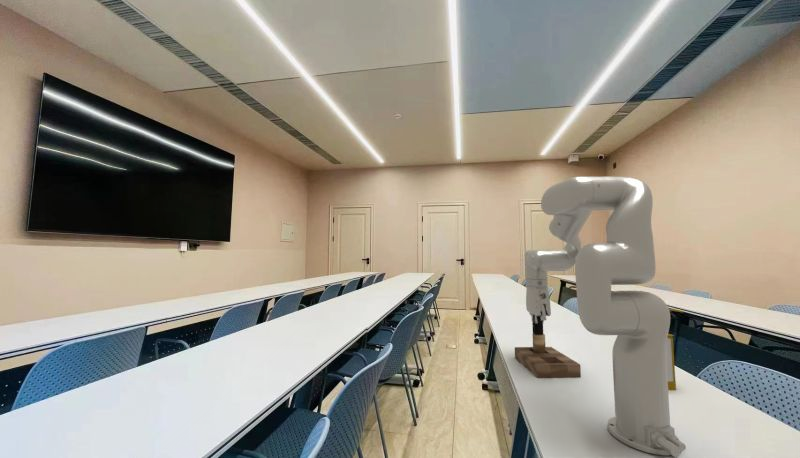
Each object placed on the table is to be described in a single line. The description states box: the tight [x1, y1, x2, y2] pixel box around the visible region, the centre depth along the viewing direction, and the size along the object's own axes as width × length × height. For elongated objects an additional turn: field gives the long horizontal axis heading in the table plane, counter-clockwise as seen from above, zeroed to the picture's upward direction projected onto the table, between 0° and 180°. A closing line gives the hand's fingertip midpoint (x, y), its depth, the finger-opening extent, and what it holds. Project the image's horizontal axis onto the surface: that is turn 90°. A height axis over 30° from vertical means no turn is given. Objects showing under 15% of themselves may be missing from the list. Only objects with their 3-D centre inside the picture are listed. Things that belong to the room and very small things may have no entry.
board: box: [514, 346, 582, 379], centre depth 107 cm, size 18×14×4 cm
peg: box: [532, 332, 546, 354], centre depth 111 cm, size 4×4×10 cm
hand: (538, 333), depth 112 cm, fingers closed
